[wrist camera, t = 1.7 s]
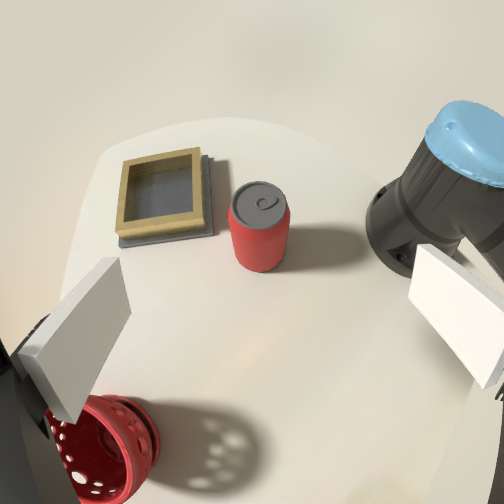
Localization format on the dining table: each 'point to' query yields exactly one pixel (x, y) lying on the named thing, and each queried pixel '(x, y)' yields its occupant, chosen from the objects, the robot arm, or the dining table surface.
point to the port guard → (164, 198)
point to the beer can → (259, 225)
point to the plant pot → (107, 448)
